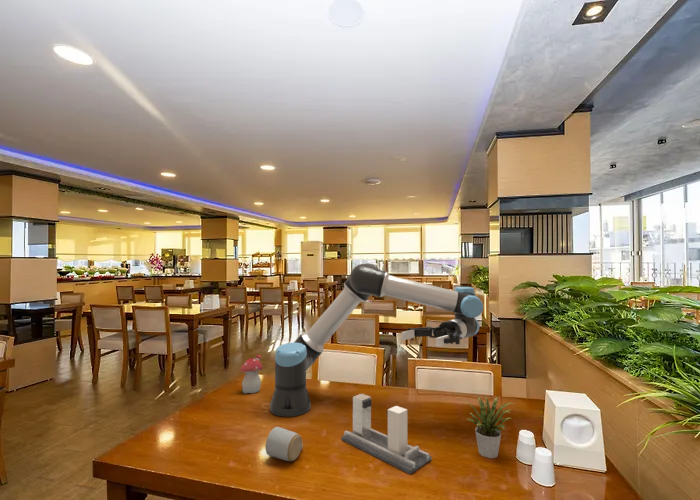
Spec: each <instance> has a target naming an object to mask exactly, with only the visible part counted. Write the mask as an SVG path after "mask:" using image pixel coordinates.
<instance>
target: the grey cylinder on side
mask: <svg viewBox="0 0 700 500" xmlns="http://www.w3.org/2000/svg"><path fill="white" fill-rule="evenodd" d="M303 446H304V444H303V438H302V436H301V435H300V434H299V433H297V432H295V431H293V430H292V431H291V430H288V429H286V428H283V427H280V426H275V427H273V428H272V429H271V430H270V432H269V434H268V435H267V438H266V441H265V452H266V455H267V456H268V457H272V458H276V459H279V460H282V461H284V462H285V461H286V462H294V461H295V460H297V458H299V455H300V453H301V451H302V449H303Z"/></svg>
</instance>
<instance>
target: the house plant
mask: <svg viewBox="0 0 700 500" xmlns="http://www.w3.org/2000/svg"><path fill="white" fill-rule="evenodd" d="M483 395H484V397H483V398H484V401H483V400H482V398H481V397H480V395H477V398H478V399H477V400H478V403H479V408H480V410H479V412H480V413H479V412H478V410H477V409H476V407H474V406H473V405H472V403H470V402H469V401H468V400H467V401H466V400H465V399H464V400H463V401H464V402H466V403H467V404H468V405H470V407H471V408H472V409H473V410H474V412H475V414H476V415H477V416H476V415H474V414H473V413H472V412H469V414H470V415H471V416H472V418H467V420H468V421H470V422H472V423H473V424H475V425H476V427H475V431H474V432H475V437H476V443H477V449H478V454H479V455H480V456H482V457H484V458H489V459H495V458H498V455H499V449H500V445H501V437H502V433H503V432H502V430H505V428H506V426H505V425H504V424H503V423H504V422H505V421H506V422H507V421H508V419H509V420H510V419H511V417H507V418H504V417H503V415H504V414H506V413H510V414H511V412H510V409H506V410H503V409H504V408H505V407H507V406H508V405H512V404H514V402H506V403H504V404H502V405H501V406H500V407H499V408H498V409H497V410H496V408H497V405H498V399H499V398H498V396H496V397H495V398H494V399H493V402H492V405H491V406H490V401H489V399H488V398H487V396H486V395H485V394H483ZM495 412H496V413H495ZM499 421H500V422H499ZM498 422H499V423H498ZM497 423H498V425H497ZM501 428H502V429H501Z"/></svg>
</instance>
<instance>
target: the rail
mask: <svg viewBox="0 0 700 500" xmlns="http://www.w3.org/2000/svg"><path fill="white" fill-rule="evenodd" d="M341 441H342V442H344V443H346V444H348V445H351V446H353V447H355V448H357V449H358V450H361V451H363V452H365V453H367V454H368V455H371V456H373V457H374V458H377V459H379V460H381V462H382V461H383V462H385V463H386V464H388V465H391V466H393V467H395V468H396V469H399V470H400V471H403V472H404V473H406V474H408V475H411V474H413V473H414V472H416V471H417V470H419V469H420V468H421V467H422V468H423V466H425V465H426V464H428V463H429V462H430V461H432V455H430V453H429V452H427V451H424V450H422V449H420V446H418V445H414V446H413V445H410V444H408V443H407V447H408V451H406V452H405V454H404V455H402V456H400V455H398V454H396V453H394V452H392V451H390V450H388V434H385V433H383V432H381V431H377V430H375V429H373V428H372V396H370V395H367V394H363V393H359V394H357V395H354V396H352V431H349V430H345V431H344V433H343V435H342V436H341Z"/></svg>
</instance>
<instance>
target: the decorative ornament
mask: <svg viewBox="0 0 700 500" xmlns="http://www.w3.org/2000/svg"><path fill="white" fill-rule="evenodd" d="M261 359H262V356H261V355H260V354H256V355H255V358H253V357H252V358H248V359H247V360H246V361H245V362H243V364H242V365H241V367H240V372H241V373H245V375H244V376H243V380H242V382H241V388H242V389H241V392H242V394H247V393H251V394H255V393H257V392H260V389H261V384H262V380H261V377H260V375H259V372H260V371H262V370H263V365H262V363H261V362H260V360H261Z"/></svg>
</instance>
